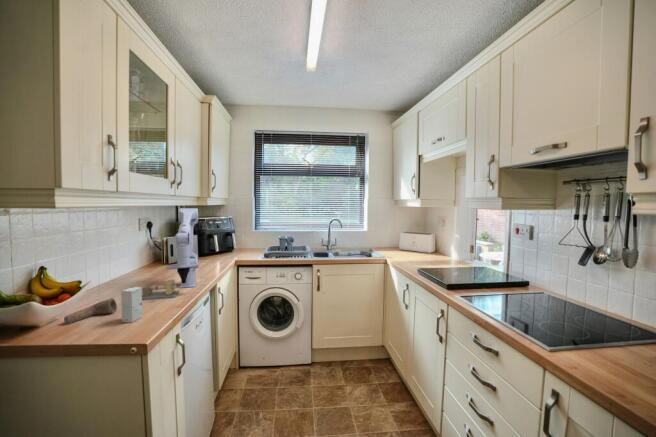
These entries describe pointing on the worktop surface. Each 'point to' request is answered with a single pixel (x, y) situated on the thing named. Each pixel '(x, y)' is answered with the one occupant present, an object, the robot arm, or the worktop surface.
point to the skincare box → (131, 304)
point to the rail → (157, 295)
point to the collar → (170, 286)
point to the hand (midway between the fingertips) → (183, 282)
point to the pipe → (92, 311)
